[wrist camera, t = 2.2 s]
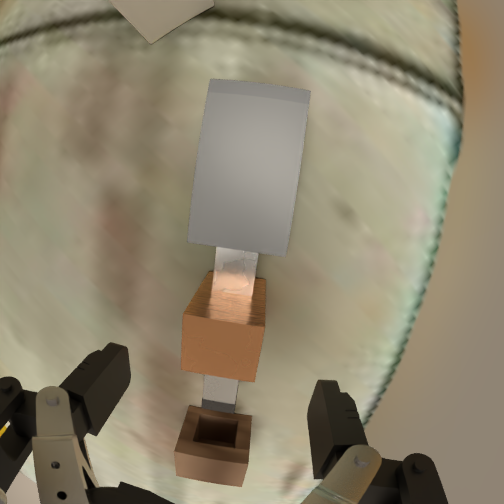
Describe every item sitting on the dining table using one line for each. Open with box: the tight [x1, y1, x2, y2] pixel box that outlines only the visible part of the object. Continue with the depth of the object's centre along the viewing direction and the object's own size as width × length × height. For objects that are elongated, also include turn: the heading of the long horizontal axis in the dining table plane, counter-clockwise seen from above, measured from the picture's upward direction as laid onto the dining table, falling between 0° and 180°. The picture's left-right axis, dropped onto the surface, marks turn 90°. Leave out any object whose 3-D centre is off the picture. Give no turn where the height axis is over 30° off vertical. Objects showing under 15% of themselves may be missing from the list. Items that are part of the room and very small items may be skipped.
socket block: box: [174, 405, 252, 487], centre depth 22 cm, size 6×4×6 cm
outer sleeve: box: [187, 79, 311, 257], centre depth 16 cm, size 5×9×5 cm, turn 172°
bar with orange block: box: [181, 247, 266, 414], centre depth 17 cm, size 4×20×7 cm, turn 172°
